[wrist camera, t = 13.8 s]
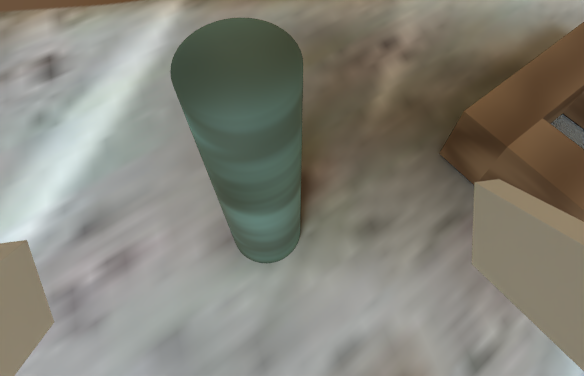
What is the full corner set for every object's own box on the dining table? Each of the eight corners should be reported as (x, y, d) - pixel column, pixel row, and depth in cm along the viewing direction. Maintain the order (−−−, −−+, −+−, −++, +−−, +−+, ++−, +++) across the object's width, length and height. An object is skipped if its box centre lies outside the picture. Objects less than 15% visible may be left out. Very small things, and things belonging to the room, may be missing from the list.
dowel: (221, 225, 25) (146, 56, 13) (273, 189, 26) (252, 0, 14) (259, 276, 24) (218, 142, 11) (313, 236, 25) (330, 72, 12)
